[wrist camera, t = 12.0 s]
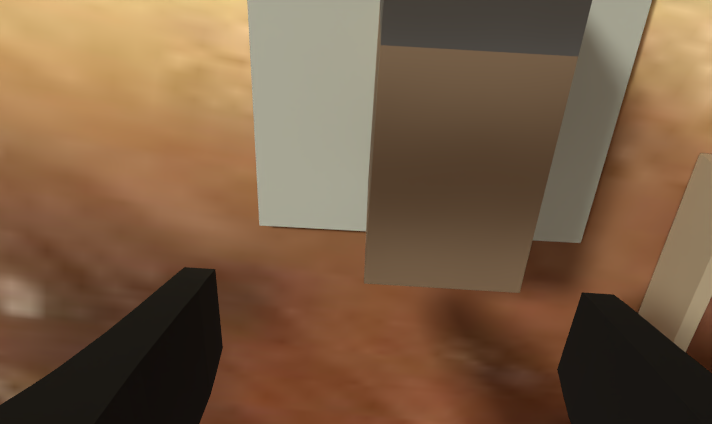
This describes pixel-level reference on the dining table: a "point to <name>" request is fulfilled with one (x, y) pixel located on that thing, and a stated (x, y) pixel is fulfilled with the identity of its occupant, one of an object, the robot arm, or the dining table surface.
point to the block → (465, 136)
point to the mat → (355, 109)
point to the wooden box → (684, 263)
